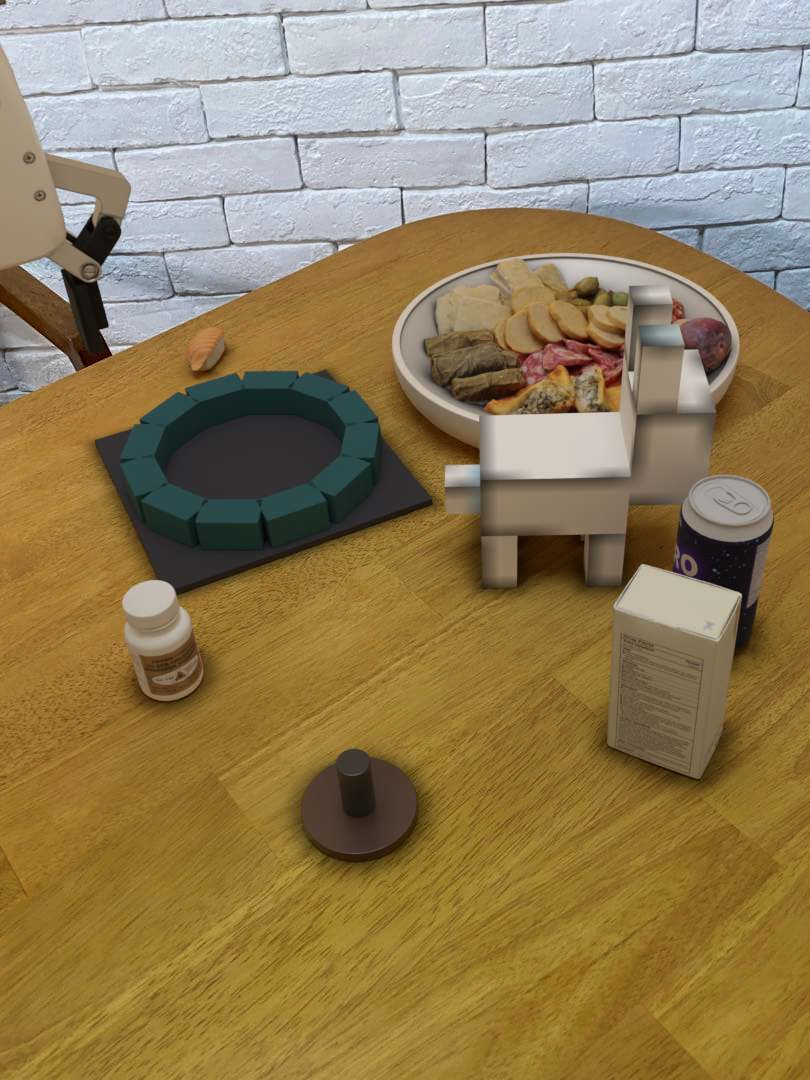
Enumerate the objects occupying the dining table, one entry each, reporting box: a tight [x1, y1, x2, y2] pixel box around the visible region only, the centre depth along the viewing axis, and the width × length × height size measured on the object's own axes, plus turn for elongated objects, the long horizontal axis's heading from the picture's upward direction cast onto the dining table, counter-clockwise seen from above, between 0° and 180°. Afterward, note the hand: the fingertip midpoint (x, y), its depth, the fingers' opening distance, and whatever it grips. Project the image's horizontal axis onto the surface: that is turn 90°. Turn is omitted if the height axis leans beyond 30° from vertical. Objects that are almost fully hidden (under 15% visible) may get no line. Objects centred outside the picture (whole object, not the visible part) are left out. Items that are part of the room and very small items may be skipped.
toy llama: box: [444, 285, 717, 589], centre depth 78 cm, size 8×18×20 cm, turn 88°
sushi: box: [187, 326, 226, 372], centre depth 107 cm, size 3×6×3 cm, turn 167°
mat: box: [94, 369, 433, 595], centre depth 94 cm, size 22×22×1 cm
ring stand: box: [300, 748, 419, 862], centre depth 67 cm, size 7×7×5 cm
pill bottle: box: [121, 579, 204, 702], centre depth 75 cm, size 4×4×8 cm
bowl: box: [391, 252, 741, 450], centre depth 99 cm, size 30×30×8 cm
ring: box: [120, 370, 382, 550], centre depth 93 cm, size 21×21×3 cm
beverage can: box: [671, 474, 775, 653], centre depth 73 cm, size 6×6×12 cm
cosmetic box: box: [606, 563, 742, 780], centre depth 67 cm, size 6×4×12 cm
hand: (0, 368), depth 59 cm, fingers open, 9 cm apart
